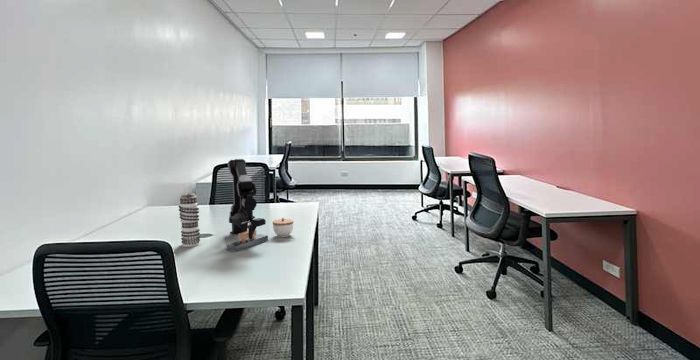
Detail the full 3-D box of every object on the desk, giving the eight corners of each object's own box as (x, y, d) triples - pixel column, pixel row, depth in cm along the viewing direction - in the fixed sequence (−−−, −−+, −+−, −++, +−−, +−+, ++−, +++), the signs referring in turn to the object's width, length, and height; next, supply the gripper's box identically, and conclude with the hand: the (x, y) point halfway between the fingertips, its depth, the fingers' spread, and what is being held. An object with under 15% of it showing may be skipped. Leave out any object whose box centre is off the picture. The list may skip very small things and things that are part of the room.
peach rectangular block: (238, 244, 202) (238, 233, 201) (252, 240, 210) (251, 229, 209) (243, 245, 200) (243, 234, 200) (256, 241, 208) (256, 230, 207)
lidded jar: (284, 239, 215) (283, 221, 214) (268, 236, 220) (268, 218, 219) (297, 234, 224) (297, 217, 223) (282, 232, 229) (281, 215, 228)
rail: (226, 249, 197) (226, 244, 197) (258, 238, 216) (258, 234, 216) (236, 251, 194) (235, 246, 194) (268, 240, 213) (267, 235, 213)
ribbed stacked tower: (180, 243, 210) (177, 193, 207) (200, 240, 214) (197, 191, 210) (181, 247, 202) (177, 195, 199) (201, 245, 205) (198, 194, 202)
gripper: (219, 207, 200) (221, 239, 202) (249, 211, 191) (250, 244, 193) (236, 203, 210) (238, 234, 212) (265, 206, 201) (266, 239, 203)
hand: (247, 238), depth 205 cm, fingers closed on peach rectangular block, 3 cm apart
